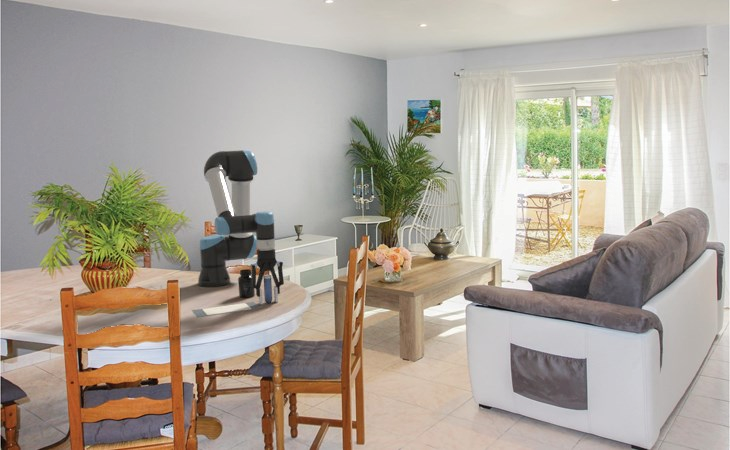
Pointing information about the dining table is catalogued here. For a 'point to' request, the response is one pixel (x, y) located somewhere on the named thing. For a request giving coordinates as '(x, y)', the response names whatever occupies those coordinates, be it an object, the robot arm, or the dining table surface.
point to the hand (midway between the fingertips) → (268, 302)
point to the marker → (267, 289)
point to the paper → (226, 309)
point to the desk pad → (202, 314)
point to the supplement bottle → (245, 284)
